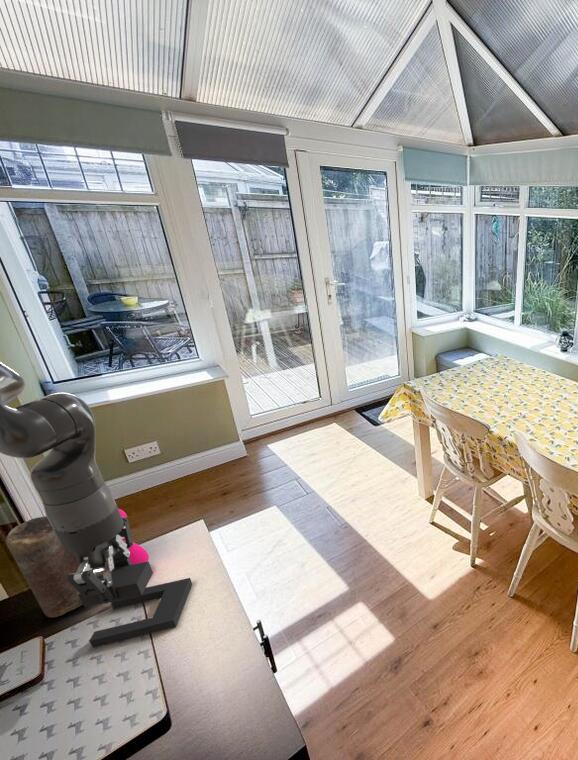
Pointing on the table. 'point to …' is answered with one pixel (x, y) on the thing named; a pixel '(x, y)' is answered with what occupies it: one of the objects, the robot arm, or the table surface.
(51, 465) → the robot arm
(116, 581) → the black block
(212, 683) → the table surface
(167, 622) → the black u-shaped piece
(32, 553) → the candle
